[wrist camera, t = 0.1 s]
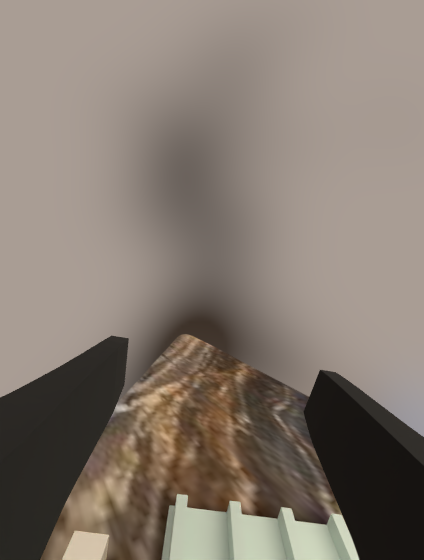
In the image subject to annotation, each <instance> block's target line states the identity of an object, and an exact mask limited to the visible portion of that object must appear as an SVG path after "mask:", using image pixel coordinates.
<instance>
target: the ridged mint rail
mask: <svg viewBox="0 0 424 560" xmlns="http://www.w3.org/2000/svg"><path fill="white" fill-rule="evenodd" d="M187 500H188V495H181V494H177V498H176V503H175V506H171V505H170V506H169V511H168V517H167V524H166V531H165V538H164V545H163V552H162V559H161V560H359V558H358V555H357V552H356V549H355V546H354V543H353V540H352V538H351V535H350V533H349V531H348V528H347V526H346V524H345V522H344V520H343V517H342V515H338V514H331V516H330V518H329V521H328V523H327V525H324V524H316V523H307V522H299V521H295V519H294V516H293V512H292V509H291V508H283V507H281V510H280V513H279V516H278V519H275V518H267V517H259V516H251V515H243V514H242V513H241V504H240V502H236V501H230V502H229V506H228V510H227V512H219V511H211V510H203V509H195V508H187Z"/></svg>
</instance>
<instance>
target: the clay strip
mask: <svg viewBox="0 0 424 560" xmlns="http://www.w3.org/2000/svg"><path fill="white" fill-rule="evenodd" d="M108 541H109V535H106V534H98V533H90V532H82V531H75V532H74V534H73V536H72V538H71V541H70V543H69V545H68V547H67V550H66V552H65V554H64V556H63V559H62V560H106V558H107V549H108Z"/></svg>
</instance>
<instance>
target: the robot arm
mask: <svg viewBox="0 0 424 560" xmlns="http://www.w3.org/2000/svg"><path fill="white" fill-rule="evenodd" d="M127 350H128V338H122V337H116V336H110V337H109V338H107V339H105V340H104V341H102V342H100V343H99V344H97V345H95V346H94V347H92V348H90V349H89V350H87V351H85V352H84V353H82V354H81V355H79V356H77V357H75V358H74V359H72V360H70V361H69V362H67V363H65V364H64V365H62V366H60V367H58V368H56V369H55V370H53V371H51V372H49V373H47V374H45V375H43V376H42V377H40V378H38V379H36V380H34V381H32V382H30V383H29V384H27V385H25V386H23V387H21V388H19V389H17V390H15V391H13V392H11V393H9V394H7V395H5V396H3V397H1V398H0V560H40V558H41V556H42V554H43V551H44V549H45V547H46V545H47V542H48V540H49V538H50V536H51V533H52V531H53V529H54V527H55V524H56V522H57V520H58V518H59V515H60V513H61V511H62V509H63V507H64V505H65V503H66V501H67V499H68V497H69V495H70V493H71V491H72V489H73V487H74V485H75V483H76V481H77V479H78V477H79V476H80V474H81V472H82V470H83V468H84V466H85V464H86V463H87V461H88V459H89V457H90V455H91V453H92V451H93V449H94V448H95V446H96V444H97V442H98V440H99V438H100V436H101V435H102V433H103V431H104V429H105V427H106V425H107V423H108V421H109V419H110V417H111V416H112V414H113V411H114V409H115V407H116V404H117V402H118V399H119V396H120V394H121V392H122V389H123V386H124V382H125V381H124V380H125V371H126V361H127ZM304 415H305V419H306V423H307V427H308V430H309V433H310V437H311V440H312V443H313V445H314V448H315V450H316V453H317V455H318V458H319V460H320V463H321V465H322V467H323V470H324V472H325V475H326V477H327V479H328V482H329V484H330V487H331V489H332V491H333V494H334V496H335V498H336V501H337V503H338V506H339V508H340V510H341V513H342V515H343V517H344V520H345V522H346V525H347V527H348V530H349V533H350V535H351V538H352V540H353V543H354V546H355V549H356V552H357V555H358V558H359V560H424V437H423V436H421V435H420V434H418V433H417V432H416V431H414V430H413V429H412V428H410V427H409V426H407V425H406V424H405V423H403V422H402V421H401V420H399V419H398V418H397V417H395V416H394V415H393V414H392V413H390V412H389V411H388V410H386V409H385V408H384V407H382V406H381V405H380V404H378V403H377V402H376V401H375V400H373V399H372V398H371V397H369V396H368V395H367V394H365V393H364V392H363V391H361V390H360V389H359V388H357V387H356V386H354V385H353V384H352V383H351V382H349V381H348V380H346V379H345V378H343V377H342V376H341V375H339V374H337V373H336V372H330V371H324V370H320V371H319V374H318V377H317V379H316V382H315V384H314V387H313V389H312V392H311V395H310V397H309V399H308V402H307V405H306V407H305V410H304Z"/></svg>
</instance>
